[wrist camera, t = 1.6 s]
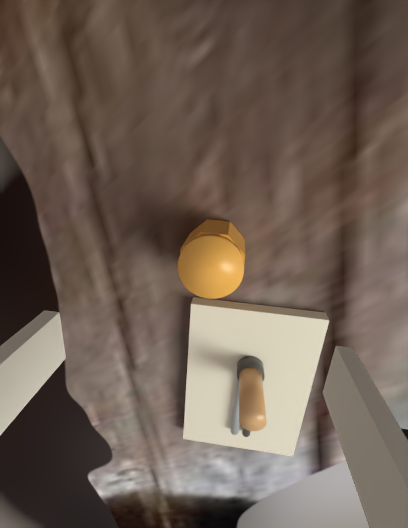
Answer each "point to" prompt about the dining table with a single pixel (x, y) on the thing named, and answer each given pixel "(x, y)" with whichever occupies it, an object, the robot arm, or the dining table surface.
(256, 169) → the dining table surface
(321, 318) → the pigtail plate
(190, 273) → the domed octagonal knob
